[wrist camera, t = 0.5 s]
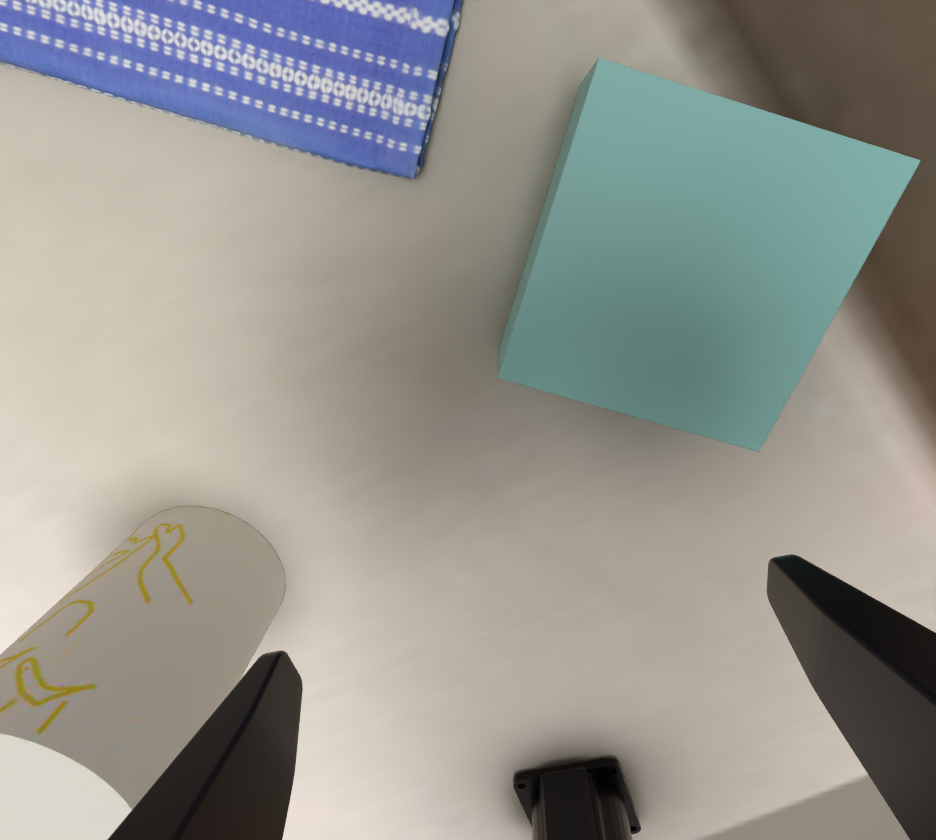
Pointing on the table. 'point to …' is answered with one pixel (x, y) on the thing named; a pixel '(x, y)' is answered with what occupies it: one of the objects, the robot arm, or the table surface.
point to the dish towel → (256, 66)
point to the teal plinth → (691, 255)
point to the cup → (129, 671)
